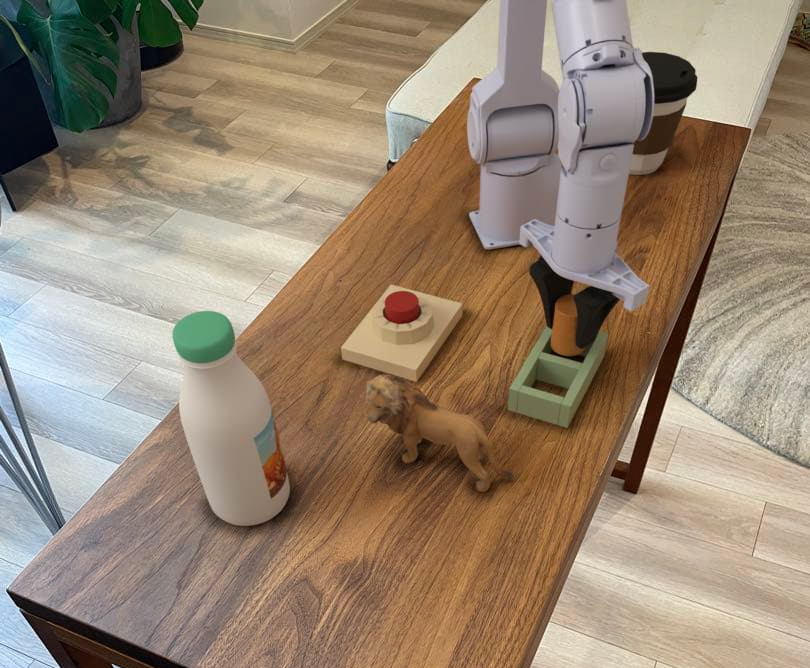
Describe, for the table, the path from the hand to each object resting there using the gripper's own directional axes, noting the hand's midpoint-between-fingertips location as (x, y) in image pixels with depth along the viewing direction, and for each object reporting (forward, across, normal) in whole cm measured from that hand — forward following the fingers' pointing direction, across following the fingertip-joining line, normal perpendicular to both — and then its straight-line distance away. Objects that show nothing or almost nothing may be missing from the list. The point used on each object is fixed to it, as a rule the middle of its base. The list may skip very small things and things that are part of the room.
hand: (570, 333), depth 85 cm
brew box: (+4, +15, +10) cm, 19 cm away
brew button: (+1, +15, +10) cm, 18 cm away
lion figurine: (+5, -1, +19) cm, 20 cm away
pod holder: (+4, -1, +2) cm, 5 cm away
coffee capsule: (+1, 0, 0) cm, 1 cm away
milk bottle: (+5, +7, +35) cm, 36 cm away
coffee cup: (+4, +22, -36) cm, 43 cm away
